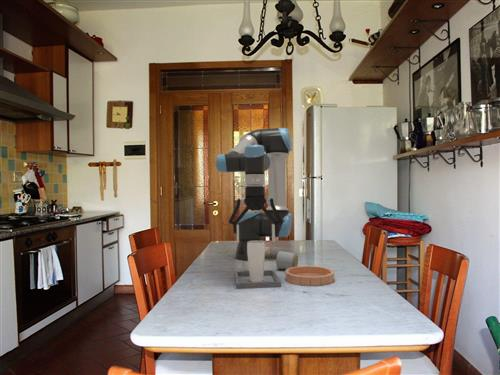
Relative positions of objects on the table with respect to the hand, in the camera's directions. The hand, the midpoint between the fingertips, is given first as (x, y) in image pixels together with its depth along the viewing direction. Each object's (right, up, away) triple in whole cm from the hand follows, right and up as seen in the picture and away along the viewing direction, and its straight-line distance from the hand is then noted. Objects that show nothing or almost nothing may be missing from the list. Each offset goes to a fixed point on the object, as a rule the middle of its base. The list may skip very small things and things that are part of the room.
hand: (255, 241), depth 141 cm
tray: (0, -15, +1) cm, 15 cm away
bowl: (+21, -15, +2) cm, 26 cm away
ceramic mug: (+14, -15, +20) cm, 29 cm away
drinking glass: (0, -15, +1) cm, 15 cm away
